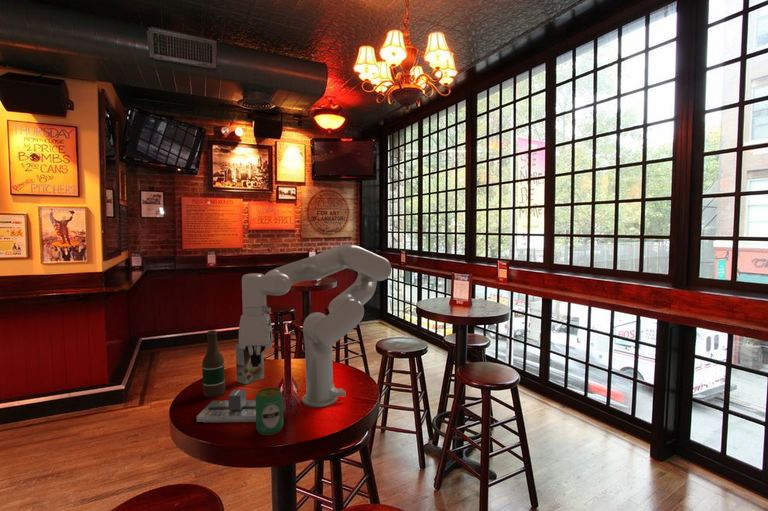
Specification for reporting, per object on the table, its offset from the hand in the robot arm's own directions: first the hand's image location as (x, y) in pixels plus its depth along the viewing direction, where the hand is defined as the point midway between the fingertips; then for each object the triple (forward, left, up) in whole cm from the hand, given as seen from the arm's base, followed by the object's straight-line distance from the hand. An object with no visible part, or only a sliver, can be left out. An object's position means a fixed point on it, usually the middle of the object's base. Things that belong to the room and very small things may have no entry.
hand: (256, 365), depth 136 cm
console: (+6, 0, -16) cm, 17 cm away
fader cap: (+7, 0, -14) cm, 16 cm away
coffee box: (+13, -31, -17) cm, 38 cm away
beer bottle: (+22, -17, -17) cm, 32 cm away
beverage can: (-7, +11, -17) cm, 21 cm away
